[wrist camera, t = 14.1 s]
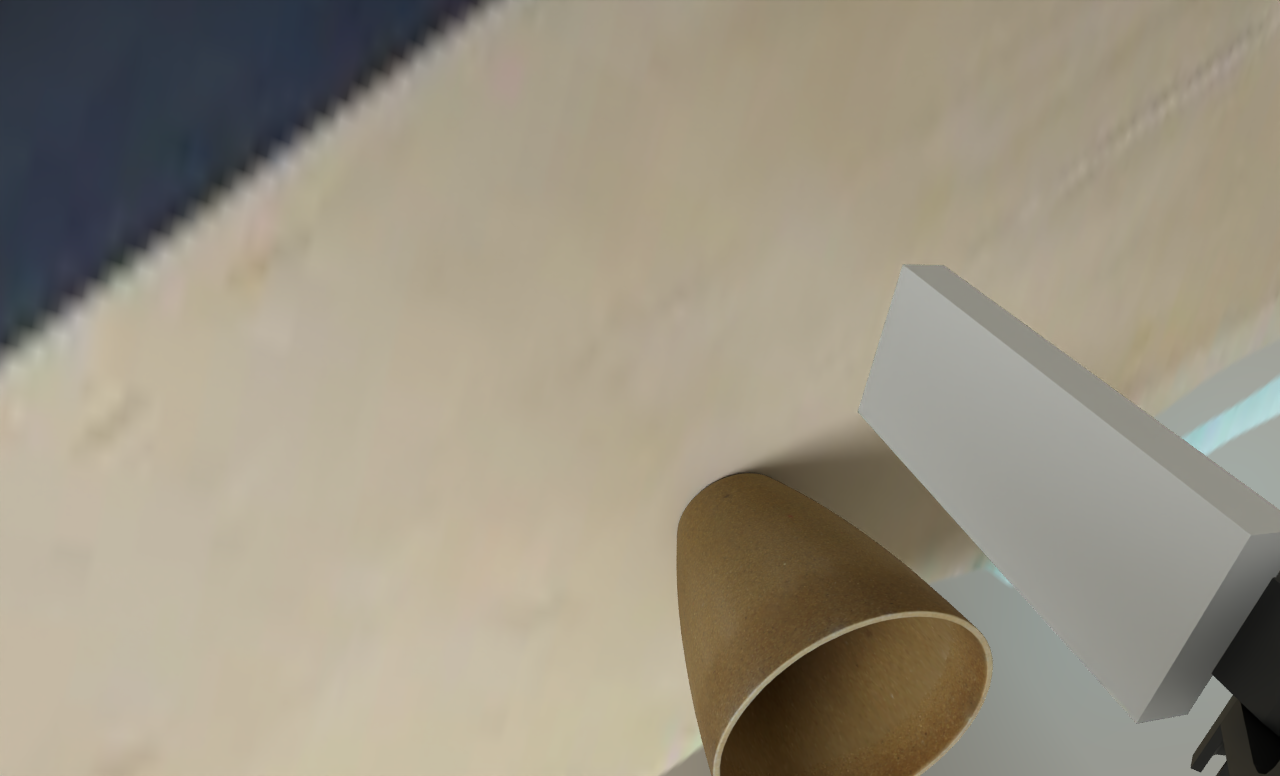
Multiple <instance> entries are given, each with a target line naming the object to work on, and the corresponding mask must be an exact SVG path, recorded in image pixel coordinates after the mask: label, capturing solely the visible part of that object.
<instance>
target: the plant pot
mask: <svg viewBox="0 0 1280 776" xmlns="http://www.w3.org/2000/svg"><path fill="white" fill-rule="evenodd" d="M677 590H678V605H679V616H680V625H681V634H682V641H683V648H684V655H685V661H686V668H687V673H688V678H689V684H690V689H691V694H692V699H693V704H694V709H695V714H696V718H697V722H698V726H699V730H700V734H701V739H702V742H703V746H704V750H705V754H706V757H707V761H708V764H709V768H710V772H711V775H712V776H920V775H921V774H922V773H924V772H925V771H926V770H928V769H929V768H930V767H931V766H932V765H934V764H935V763H936V762H937V761H938V760H939V759H940V758H942V757H943V756H944V755H945V754H946V753H947V751H949V750H950V749H951V747H952V746H954V745H955V744H956V742H957V741H958V740H959V739H960V738H961V737H962V736H963V734H964V733H965V731H966V730H967V729H968V728H969V726H970V725H971V723H972V722H973V720H974V719H975V717H976V716H977V714H978V712H979V711H980V709H981V707H982V705H983V703H984V701H985V698H986V695H987V692H988V690H989V687H990V683H991V677H992V670H993V665H992V664H993V661H992V654H991V650H990V647H989V645H988V642H987V640H986V639H985V637H984V636H983V634H982V633H981V632H980V631H979V630H978V629H977V628H976V627H975V626H974V625H973V624H972V623H970V622H969V621H968V620H967V619H966V618H965V617H964V616H963V615H962V614H961V613H960V612H958V611H957V610H956V609H955V608H954V607H953V606H952V605H951V604H950V603H949V602H947V601H946V600H945V599H944V598H943V597H942V596H941V595H939V594H938V593H937V592H936V591H935V590H934V589H933V588H932V587H930V586H929V585H928V584H927V583H926V582H925V581H924V580H922V579H921V578H920V577H919V576H918V575H917V574H916V573H914V572H913V571H912V570H911V569H910V568H909V567H907V566H906V565H905V564H904V563H902V562H901V561H900V560H899V559H897V558H896V557H895V556H894V555H892V554H891V553H890V552H889V551H887V550H886V549H885V548H883V547H882V546H881V545H879V544H878V543H877V542H875V541H874V540H872V539H871V538H870V537H868V536H867V535H866V534H864V533H863V532H862V531H860V530H859V529H857V528H856V527H854V526H853V525H851V524H850V523H848V522H847V521H845V520H844V519H842V518H841V517H839V516H838V515H836V514H835V513H833V512H832V511H830V510H829V509H827V508H825V507H824V506H822V505H820V504H819V503H817V502H815V501H814V500H812V499H810V498H808V497H807V496H805V495H803V494H801V493H800V492H798V491H796V490H794V489H792V488H790V487H788V486H786V485H784V484H782V483H780V482H778V481H776V480H774V479H772V478H770V477H768V476H765V475H761V474H756V473H744V474H737V475H732V476H728V477H725V478H723V479H721V480H718V481H716V482H715V483H713V484H711V485H709V486H708V487H706V488H705V489H704V490H702V491H701V492H700V493H699V494H698V495H697V496H696V497H695V498H694V499H693V500H692V501H691V502H690V503H689V504H688V506H687V507H686V509H685V510H684V512H683V514H682V516H681V519H680V522H679V525H678V531H677Z"/></svg>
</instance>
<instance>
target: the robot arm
mask: <svg viewBox="0 0 1280 776" xmlns="http://www.w3.org/2000/svg"><path fill="white" fill-rule="evenodd" d="M858 413H859V414H860V415H861V416H862V417H863V418H864V420H865V421H866V422H867V423H868V424H869V425H870V426H871V427H872V428H873V430H874V431H875V432H876V433H877V434H878V435H879V436H880V437H881V439H882V440H883V441H884V442H885V443H886V444H887V445H888V446H889V448H890V449H891V450H892V451H893V452H894V453H895V454H896V455H897V456H898V458H899V459H900V460H901V461H902V462H903V463H904V464H905V465H906V467H907V468H908V469H909V470H910V471H911V472H912V473H913V474H914V475H915V477H916V478H917V479H918V480H919V481H920V482H921V483H922V484H923V486H924V487H925V488H926V489H927V490H928V491H929V492H930V493H931V494H932V496H933V497H934V498H935V499H936V500H937V501H938V502H939V503H940V505H941V506H942V507H943V508H944V509H945V510H946V511H947V512H948V513H949V515H950V516H951V517H952V518H953V519H954V520H955V521H956V522H957V524H958V525H959V526H960V527H961V528H962V529H963V530H964V531H965V532H966V534H967V535H968V536H969V537H970V538H971V539H972V540H973V541H974V543H975V544H976V545H977V546H978V547H979V548H980V549H981V550H982V552H983V553H984V554H985V555H986V556H987V557H988V558H989V559H990V560H991V562H992V563H993V564H994V565H995V566H996V567H997V568H998V569H999V571H1000V572H1001V573H1002V574H1003V575H1004V576H1005V577H1006V578H1007V579H1008V581H1009V582H1010V583H1011V584H1012V585H1013V586H1014V587H1015V588H1016V590H1018V591H1019V593H1020V594H1021V595H1022V596H1023V597H1024V598H1025V600H1027V602H1028V603H1029V604H1030V605H1031V606H1032V607H1033V609H1034V610H1036V612H1037V613H1038V614H1039V615H1040V616H1041V617H1042V619H1043V620H1044V621H1045V622H1046V623H1047V624H1048V625H1049V626H1050V628H1051V629H1052V630H1053V631H1054V632H1055V633H1056V634H1057V635H1058V637H1059V638H1060V639H1061V640H1062V641H1063V642H1064V643H1065V644H1066V645H1067V647H1068V648H1069V649H1070V650H1071V651H1072V652H1073V653H1074V654H1075V655H1076V656H1077V658H1078V659H1079V660H1080V661H1081V662H1082V663H1083V664H1084V666H1085V667H1086V668H1087V669H1088V670H1089V671H1090V672H1091V673H1092V675H1093V676H1094V677H1095V678H1096V679H1097V680H1098V681H1099V682H1100V683H1101V685H1102V686H1103V687H1104V688H1105V689H1106V690H1107V691H1108V692H1109V693H1110V695H1111V696H1112V697H1113V698H1114V699H1115V700H1116V701H1117V702H1118V704H1119V705H1120V706H1121V707H1122V708H1123V709H1124V710H1125V711H1126V713H1127V714H1128V715H1129V716H1130V717H1131V718H1132V719H1133V720H1134V722H1135V723H1136V724H1137V723H1143V722H1148V721H1153V720H1159V719H1165V718H1170V717H1175V716H1181V715H1186V714H1188V713H1189V711H1190V709H1191V708H1192V707H1193V705H1194V703H1195V702H1196V700H1197V699H1198V697H1199V696H1200V694H1201V692H1202V691H1203V689H1204V688H1205V686H1206V685H1207V683H1208V682H1209V680H1210V679H1211V677H1212V675H1213V676H1214V677H1215V678H1216V679H1217V680H1219V681H1220V682H1221V683H1222V684H1223V685H1224V686H1225V687H1226V688H1227V689H1228V690H1229V691H1230V692H1231V693H1232V694H1233V696H1232V697H1231V699H1230V700H1229V702H1228V703H1227V705H1226V706H1225V708H1224V709H1223V711H1222V712H1221V714H1220V715H1219V717H1218V718H1217V720H1216V722H1215V723H1214V724H1213V726H1212V727H1211V729H1210V730H1209V732H1208V733H1207V735H1206V736H1205V738H1204V739H1203V741H1202V742H1201V744H1200V745H1199V747H1198V748H1197V750H1196V751H1195V753H1194V754H1193V757H1192V763H1191V769H1194V770H1196V771H1199V772H1201V771H1202V770H1203V769H1204V767H1205V765H1206V764H1207V763H1208V761H1209V760H1210V758H1211V757H1212V756H1213V755H1215V754H1218V755H1226V759H1227V761H1226V762H1225V764H1224V765H1223V767H1222V768H1221V769H1220V771H1219V772H1218V774H1217V775H1216V776H1280V510H1279V509H1278V508H1277V507H1275V506H1274V505H1272V504H1271V503H1270V502H1268V501H1267V500H1265V499H1264V498H1263V497H1261V496H1260V495H1259V494H1257V493H1256V492H1254V491H1253V490H1252V489H1250V488H1249V487H1248V486H1246V485H1245V484H1244V483H1242V482H1241V481H1239V480H1238V479H1237V478H1235V477H1234V476H1233V475H1231V474H1230V473H1228V472H1227V471H1226V470H1224V469H1223V468H1222V467H1220V466H1219V465H1217V464H1216V463H1215V462H1213V461H1212V460H1211V459H1209V458H1208V457H1206V456H1205V455H1204V454H1202V453H1201V452H1200V451H1198V450H1197V449H1195V448H1194V447H1193V446H1191V445H1190V444H1189V443H1187V442H1186V441H1185V440H1183V439H1182V438H1180V437H1179V436H1177V435H1176V434H1175V433H1174V432H1172V431H1170V430H1169V429H1168V428H1167V427H1165V426H1164V425H1162V424H1161V423H1159V422H1158V421H1157V420H1156V419H1154V418H1153V417H1152V416H1150V415H1149V414H1147V413H1146V412H1145V411H1143V410H1142V409H1141V408H1139V407H1138V406H1136V405H1135V404H1134V403H1132V402H1131V401H1130V400H1128V399H1127V398H1125V397H1124V396H1123V395H1121V394H1120V393H1119V392H1117V391H1116V390H1114V389H1113V388H1112V387H1110V386H1109V385H1108V384H1106V383H1105V382H1103V381H1102V380H1101V379H1099V378H1098V377H1097V376H1095V375H1094V374H1092V373H1091V372H1090V371H1088V370H1087V369H1086V368H1084V367H1083V366H1081V365H1080V364H1079V363H1077V362H1076V361H1075V360H1073V359H1072V358H1071V357H1069V356H1068V355H1066V354H1065V353H1064V352H1062V351H1061V350H1060V349H1058V348H1057V347H1055V346H1054V345H1053V344H1051V343H1050V342H1049V341H1047V340H1046V339H1044V338H1043V337H1042V336H1040V335H1039V334H1038V333H1036V332H1035V331H1033V330H1032V329H1031V328H1029V327H1028V326H1027V325H1025V324H1024V323H1022V322H1021V321H1020V320H1018V319H1017V318H1016V317H1014V316H1013V315H1011V314H1010V313H1009V312H1007V311H1006V310H1005V309H1003V308H1002V307H1000V306H999V305H998V304H996V303H995V302H994V301H992V300H991V299H989V298H988V297H987V296H985V295H984V294H983V293H981V292H980V291H978V290H977V289H976V288H974V287H973V286H972V285H970V284H969V283H968V282H966V281H965V280H963V279H962V278H961V277H959V276H958V275H957V274H955V273H954V272H952V271H951V270H950V269H948V268H947V267H946V266H944V265H906V264H903V266H902V269H901V272H900V275H899V279H898V282H897V285H896V289H895V292H894V295H893V298H892V302H891V305H890V308H889V311H888V315H887V318H886V321H885V324H884V328H883V331H882V334H881V338H880V341H879V344H878V347H877V351H876V354H875V357H874V360H873V364H872V367H871V370H870V373H869V377H868V380H867V383H866V386H865V390H864V393H863V396H862V400H861V403H860V406H859V409H858Z"/></svg>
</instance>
